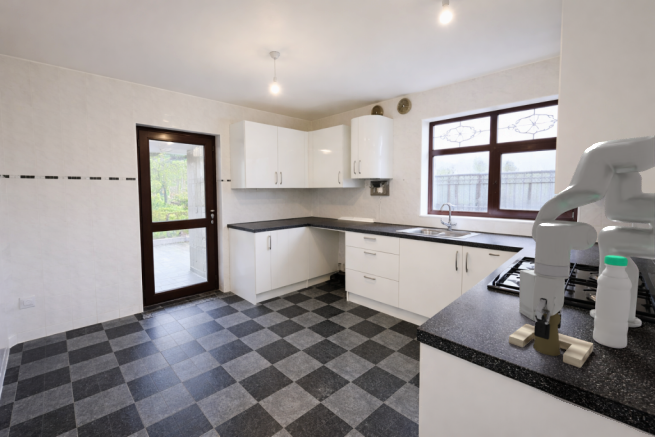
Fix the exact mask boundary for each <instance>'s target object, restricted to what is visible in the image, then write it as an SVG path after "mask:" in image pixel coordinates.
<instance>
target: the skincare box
mask: <svg viewBox="0 0 655 437" xmlns="http://www.w3.org/2000/svg"><path fill="white" fill-rule="evenodd" d="M535 279H536V274H534V269H523V270H522V269H521V270H519V300H518V301H519V304H518V305H519V307H518V308H519V309H518V310H519V311H518V312H519V313H520V314H521V315H523V316H525V317H527V318H528V319H530V320H531V321H532V322H533V321H534V322H535V316H536V311H535V312H534V311H533V310H532V300H533V291H534V284H535Z"/></svg>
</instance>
